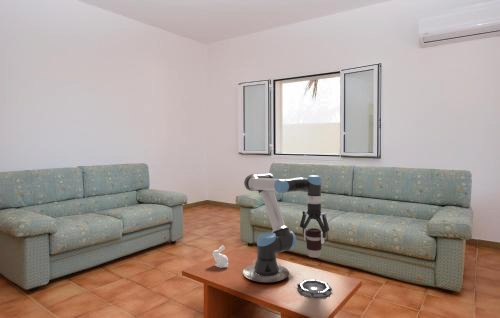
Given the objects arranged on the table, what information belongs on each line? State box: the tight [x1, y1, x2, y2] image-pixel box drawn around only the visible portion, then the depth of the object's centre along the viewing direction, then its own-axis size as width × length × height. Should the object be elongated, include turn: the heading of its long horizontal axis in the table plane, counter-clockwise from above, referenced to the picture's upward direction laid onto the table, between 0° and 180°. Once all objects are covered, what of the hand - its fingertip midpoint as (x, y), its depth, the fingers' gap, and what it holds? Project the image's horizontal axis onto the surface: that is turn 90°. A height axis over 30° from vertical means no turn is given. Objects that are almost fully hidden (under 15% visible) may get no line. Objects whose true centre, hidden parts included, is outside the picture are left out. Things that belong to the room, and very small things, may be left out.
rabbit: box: [212, 244, 229, 269], centre depth 209 cm, size 12×9×12 cm
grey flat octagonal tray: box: [296, 279, 333, 299], centre depth 175 cm, size 18×18×2 cm
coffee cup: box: [305, 227, 323, 258], centre depth 183 cm, size 10×10×15 cm
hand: (314, 241), depth 183 cm, fingers closed on coffee cup, 10 cm apart
